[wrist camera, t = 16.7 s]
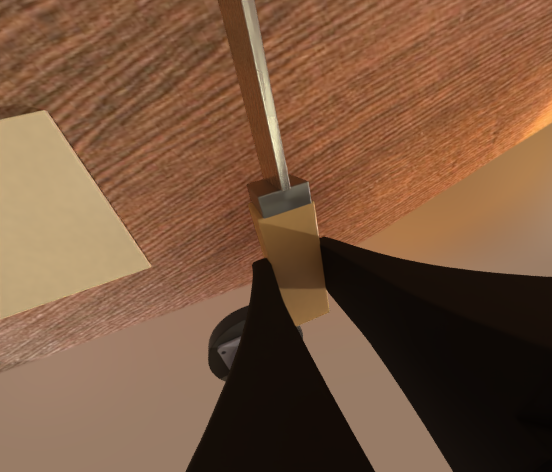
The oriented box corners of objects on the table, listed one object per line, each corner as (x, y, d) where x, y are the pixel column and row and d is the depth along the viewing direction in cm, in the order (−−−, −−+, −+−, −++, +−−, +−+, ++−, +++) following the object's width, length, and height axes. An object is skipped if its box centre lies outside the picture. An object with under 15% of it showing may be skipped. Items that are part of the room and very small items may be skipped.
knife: (157, -84, 5) (109, -286, 3) (240, -90, 5) (263, -275, 3) (277, 299, 11) (293, 339, 9) (311, 285, 12) (335, 320, 9)
